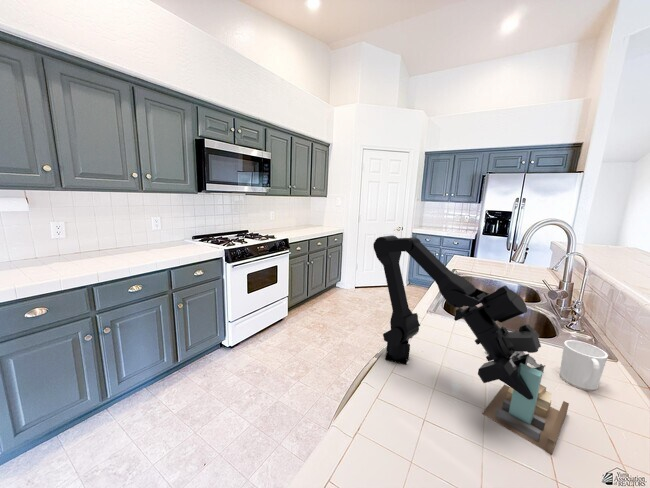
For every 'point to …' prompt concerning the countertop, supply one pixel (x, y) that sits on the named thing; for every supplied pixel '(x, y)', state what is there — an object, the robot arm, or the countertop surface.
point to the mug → (582, 364)
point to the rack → (542, 425)
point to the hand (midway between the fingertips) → (533, 396)
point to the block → (519, 403)
